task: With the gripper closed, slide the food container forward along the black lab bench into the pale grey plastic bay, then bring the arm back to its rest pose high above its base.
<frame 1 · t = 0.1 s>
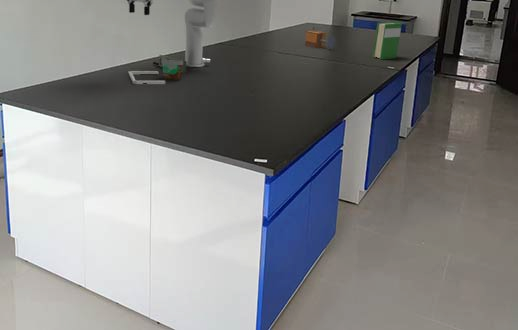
hand: (139, 13, 278), 31 cm above the countertop, tool pointing down, fingers open, 9 cm apart
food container: (169, 79, 288), on the countertop
hardback book: (384, 58, 399), on the countertop
handheld radio: (168, 69, 312), on the countertop
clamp: (319, 48, 420), on the countertop
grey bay: (147, 78, 285), on the countertop
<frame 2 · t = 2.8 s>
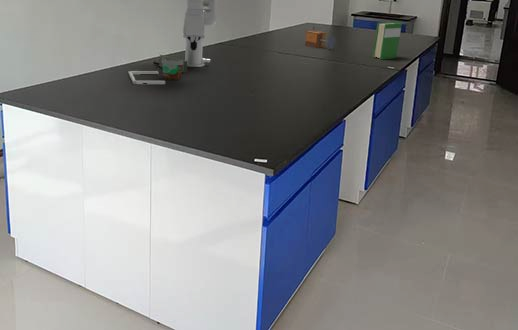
hand: (193, 49, 286), 15 cm above the countertop, tool pointing down, fingers closed
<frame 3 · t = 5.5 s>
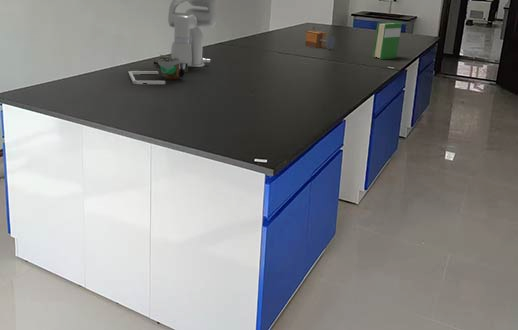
hand: (180, 76, 290), 1 cm above the countertop, tool pointing down, fingers closed
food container: (168, 78, 288), on the countertop, touching gripper
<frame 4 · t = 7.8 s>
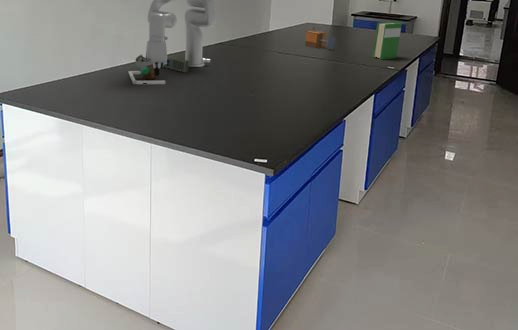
hand: (156, 75, 285), 2 cm above the countertop, tool pointing down, fingers closed
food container: (147, 77, 285), on the countertop, touching gripper
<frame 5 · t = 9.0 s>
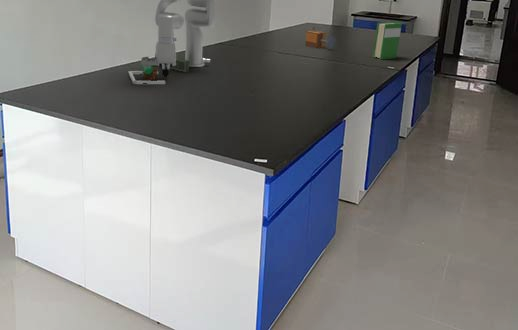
hand: (165, 76, 287), 1 cm above the countertop, tool pointing down, fingers closed
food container: (147, 79, 285), on the countertop
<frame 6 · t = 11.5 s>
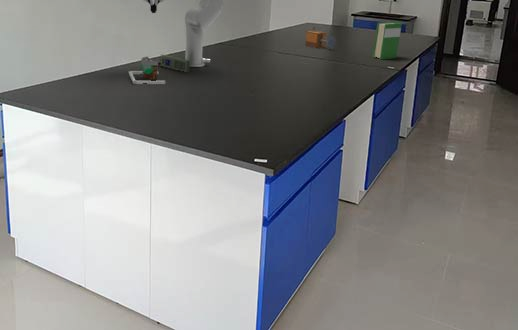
hand: (153, 12, 301), 29 cm above the countertop, tool pointing down, fingers closed
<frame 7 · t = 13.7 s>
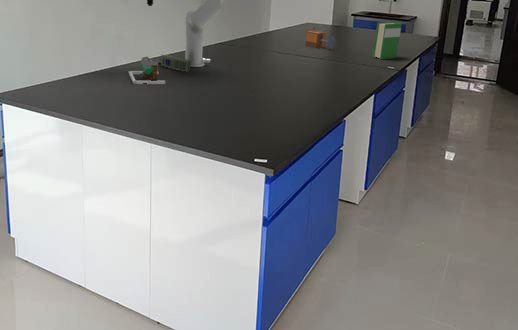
hand: (150, 5, 306), 32 cm above the countertop, tool pointing down, fingers closed
at the end: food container inside the target area on the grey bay (0.8 cm from its centre), point 0.0 cm above the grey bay's base; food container tilted 0°; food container moved 11.1 cm from its start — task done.
